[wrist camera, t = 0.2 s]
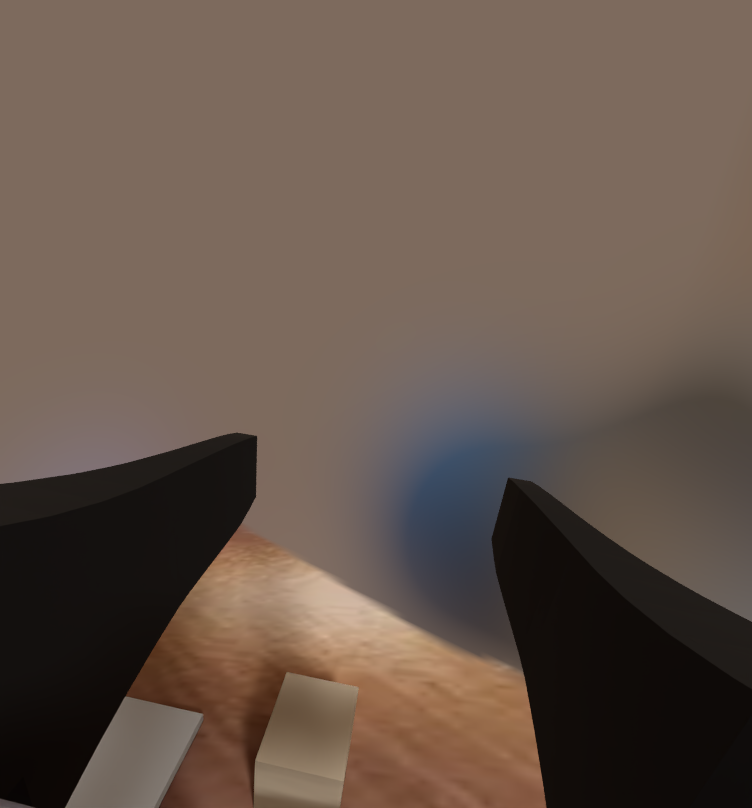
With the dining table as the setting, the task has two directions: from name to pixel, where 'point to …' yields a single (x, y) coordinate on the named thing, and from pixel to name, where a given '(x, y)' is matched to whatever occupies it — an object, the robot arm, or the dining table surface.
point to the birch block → (306, 745)
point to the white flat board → (136, 756)
